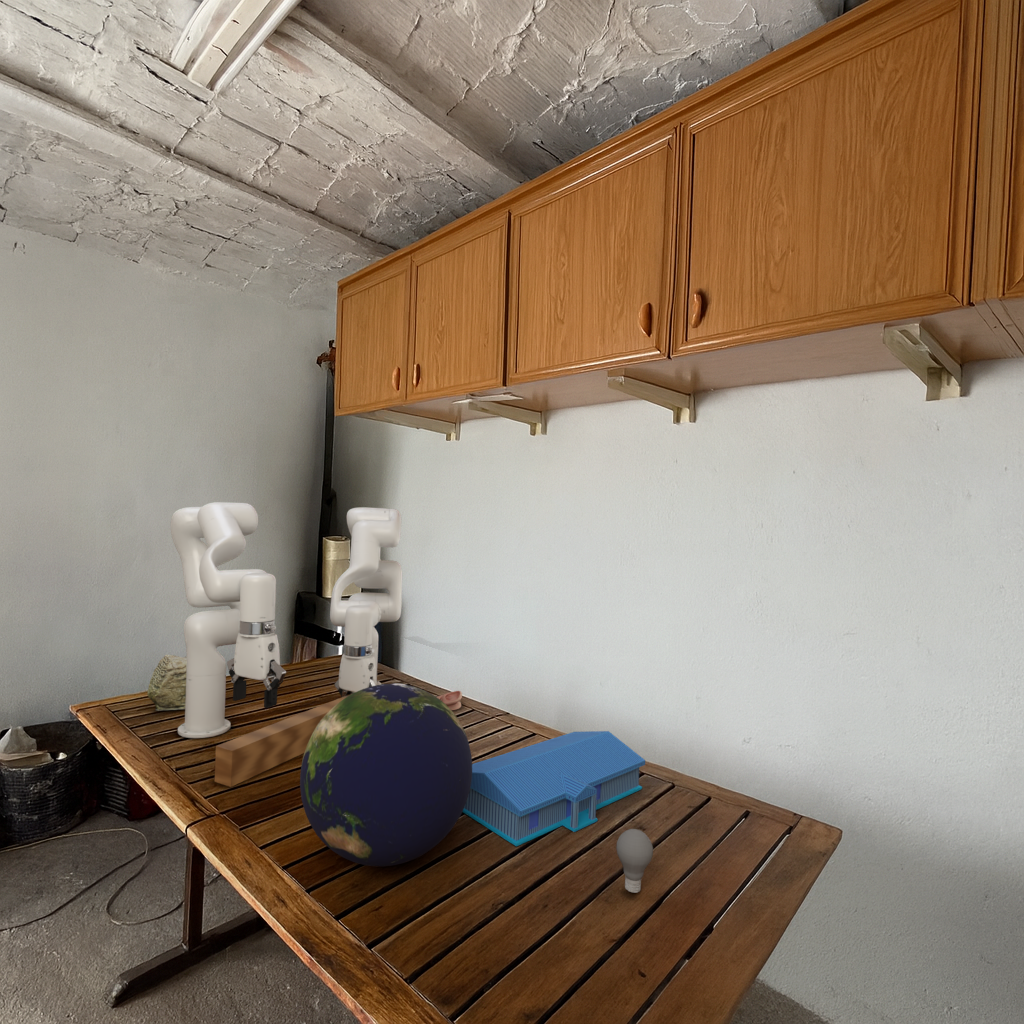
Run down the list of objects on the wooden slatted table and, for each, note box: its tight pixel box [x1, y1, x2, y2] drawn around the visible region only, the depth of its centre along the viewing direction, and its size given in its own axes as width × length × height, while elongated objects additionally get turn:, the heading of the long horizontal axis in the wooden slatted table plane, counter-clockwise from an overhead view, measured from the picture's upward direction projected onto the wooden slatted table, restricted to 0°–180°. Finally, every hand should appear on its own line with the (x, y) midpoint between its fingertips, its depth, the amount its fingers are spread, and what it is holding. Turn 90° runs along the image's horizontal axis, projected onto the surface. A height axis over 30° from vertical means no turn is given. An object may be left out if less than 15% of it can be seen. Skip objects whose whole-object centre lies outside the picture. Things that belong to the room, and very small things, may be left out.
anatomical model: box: [436, 690, 463, 711], centre depth 194 cm, size 13×4×12 cm
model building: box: [462, 730, 646, 847], centre depth 137 cm, size 39×24×10 cm, turn 132°
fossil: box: [147, 654, 187, 712], centre depth 185 cm, size 9×18×15 cm, turn 132°
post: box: [214, 693, 353, 788], centre depth 161 cm, size 52×5×8 cm, turn 154°
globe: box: [299, 683, 473, 868], centre depth 113 cm, size 30×30×30 cm
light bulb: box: [615, 828, 654, 894], centre depth 106 cm, size 6×6×10 cm
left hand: (254, 702), depth 144 cm, fingers open, 9 cm apart
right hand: (355, 714), depth 177 cm, fingers closed on post, 5 cm apart
